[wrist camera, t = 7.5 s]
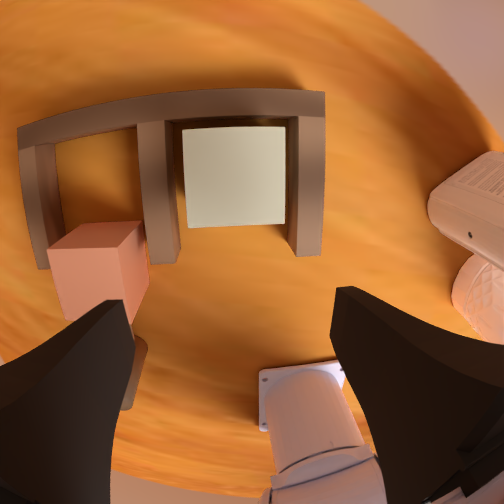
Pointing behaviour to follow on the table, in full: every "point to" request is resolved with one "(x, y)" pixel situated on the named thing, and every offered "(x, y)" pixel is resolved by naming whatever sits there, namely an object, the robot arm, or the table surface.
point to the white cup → (481, 298)
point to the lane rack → (162, 159)
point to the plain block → (234, 176)
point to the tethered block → (103, 277)
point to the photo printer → (473, 207)
